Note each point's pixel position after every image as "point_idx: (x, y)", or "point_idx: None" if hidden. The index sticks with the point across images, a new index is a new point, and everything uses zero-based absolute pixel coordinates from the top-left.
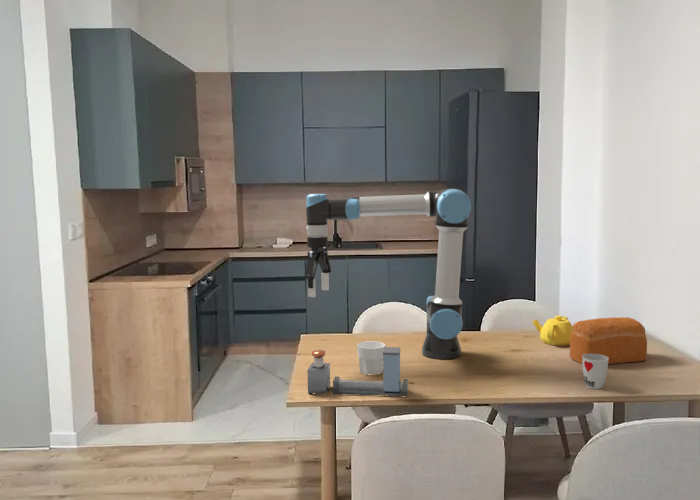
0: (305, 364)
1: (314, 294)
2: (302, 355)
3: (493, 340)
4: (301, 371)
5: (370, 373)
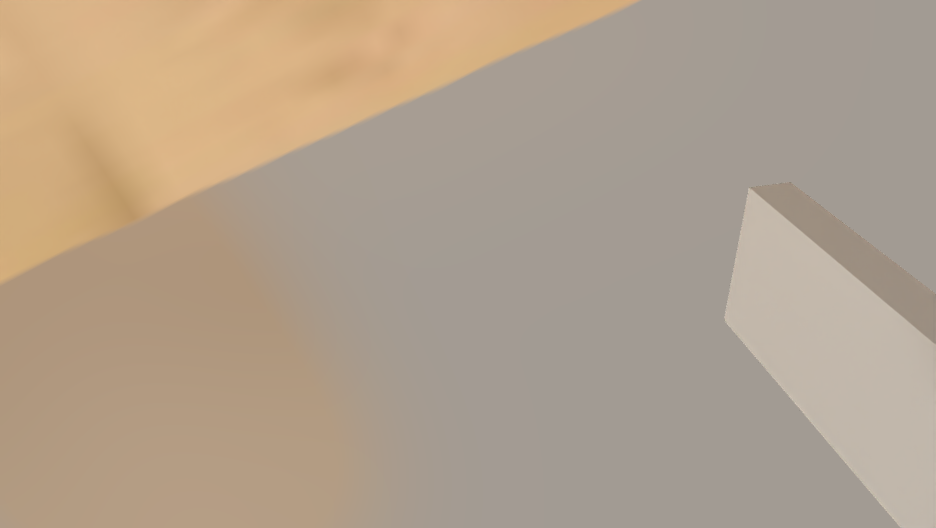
0: (366, 73)
1: (821, 218)
2: (164, 203)
3: None
4: (531, 21)
5: None
